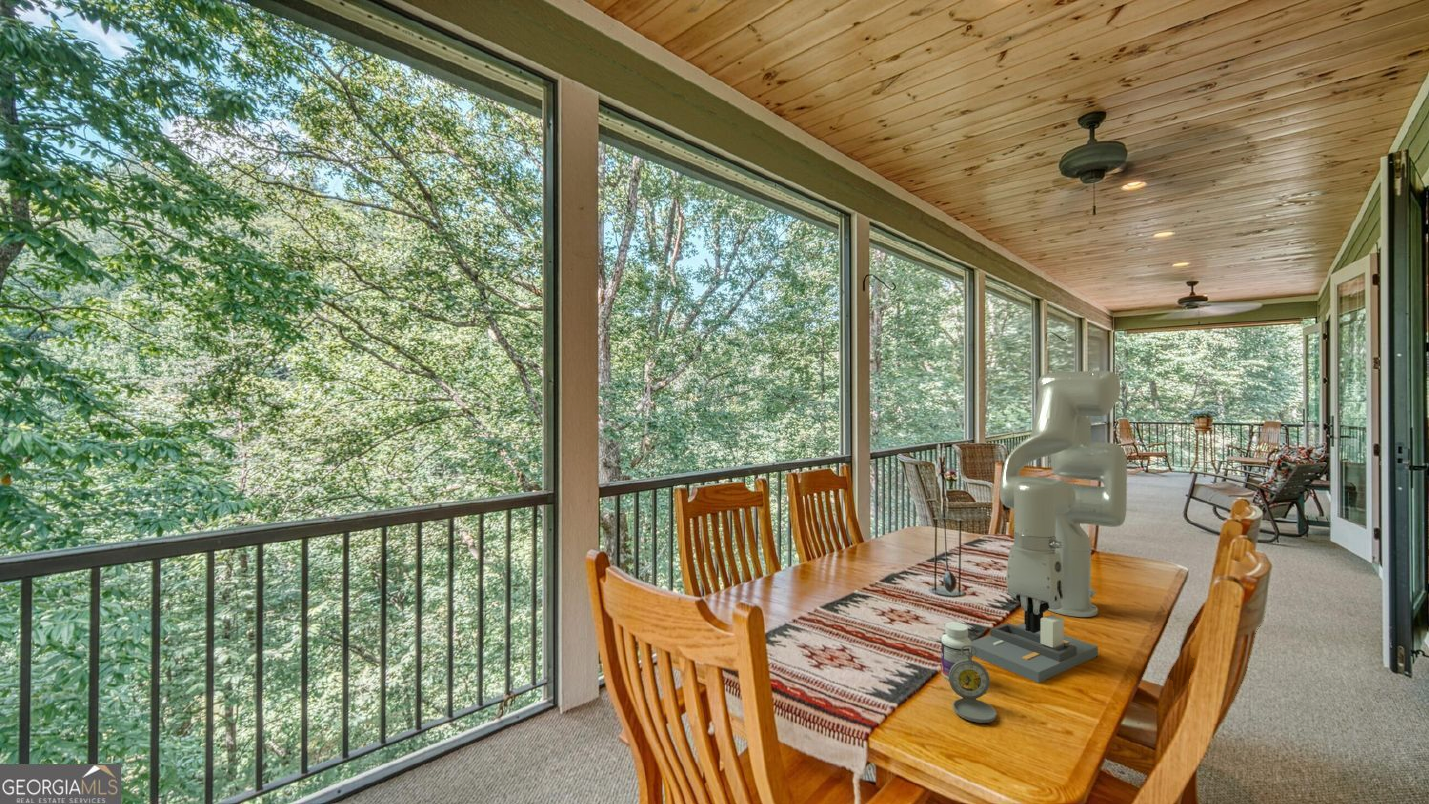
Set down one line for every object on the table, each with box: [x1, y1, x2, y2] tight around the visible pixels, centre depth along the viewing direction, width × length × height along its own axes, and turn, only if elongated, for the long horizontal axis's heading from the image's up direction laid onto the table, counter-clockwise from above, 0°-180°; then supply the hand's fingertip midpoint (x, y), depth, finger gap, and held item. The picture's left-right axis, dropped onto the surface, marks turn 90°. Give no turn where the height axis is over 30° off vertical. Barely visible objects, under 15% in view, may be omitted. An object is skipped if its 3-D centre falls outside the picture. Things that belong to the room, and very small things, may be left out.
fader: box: [1040, 614, 1065, 651], centre depth 116 cm, size 4×3×7 cm
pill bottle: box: [940, 621, 973, 683], centre depth 109 cm, size 5×5×10 cm
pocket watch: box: [948, 645, 997, 724], centre depth 97 cm, size 8×8×10 cm
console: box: [971, 622, 1099, 684], centre depth 119 cm, size 22×15×4 cm
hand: (1033, 630), depth 119 cm, fingers closed
